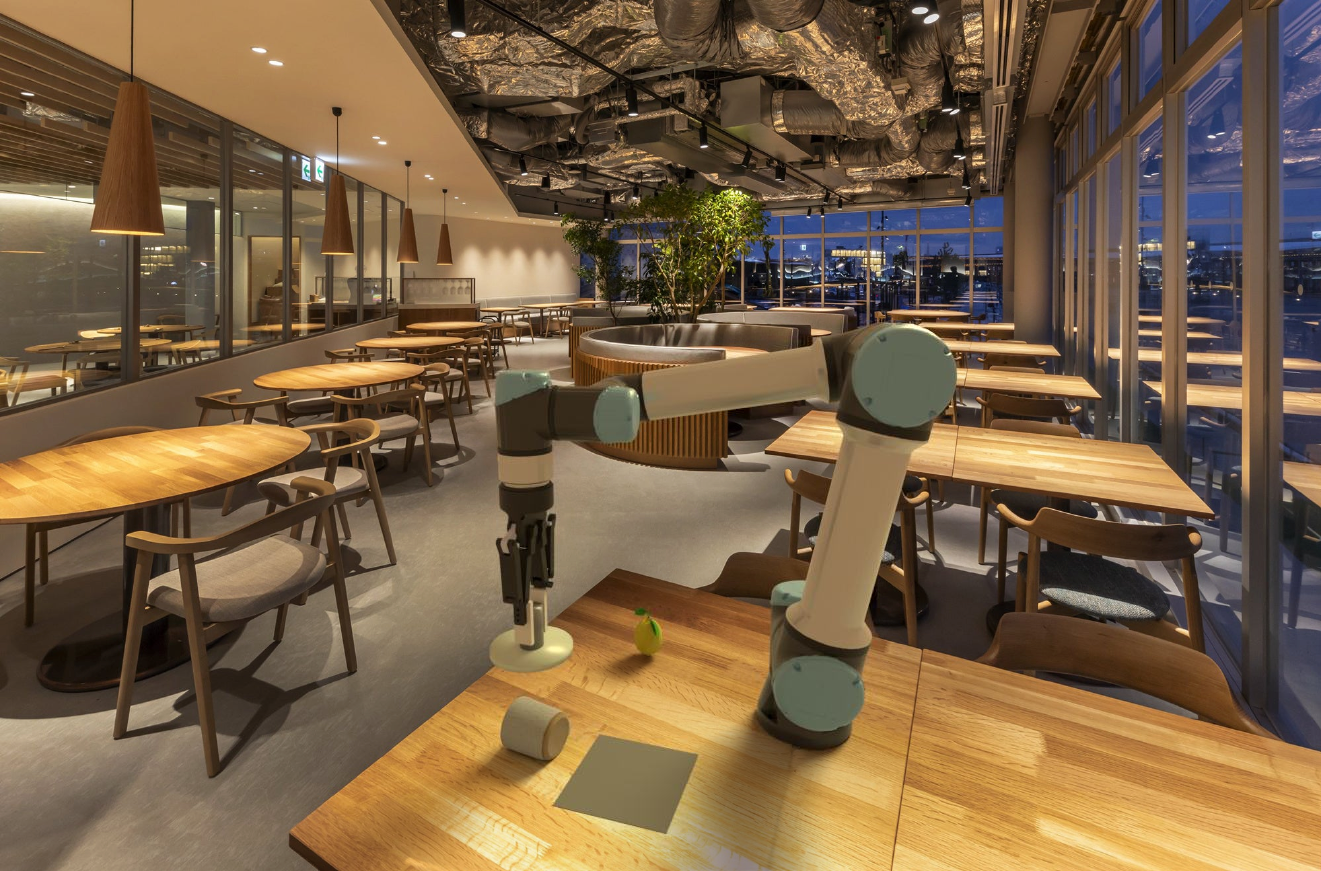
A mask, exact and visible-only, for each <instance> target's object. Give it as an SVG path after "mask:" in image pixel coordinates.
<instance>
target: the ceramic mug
mask: <svg viewBox="0 0 1321 871" xmlns="http://www.w3.org/2000/svg"><path fill="white" fill-rule="evenodd" d="M571 728H572V723H571V722H570V721H569V717H568V716H567V714H566V713H565V712H564V711H561V710H560V709H558V708H557V707H554V706H551V705H548V704H545V703H543V702H541V701H539V700H536V699H533V698H531V697H529V696H525V695H523V696H522V695H521V696H519V697H517V698H515V700H513V702H512V703H511V704H510V705H509V707H508V708H507V710H506V712H505V714H504V716H503V718H502V722H501V726H500V734H499V735H500V737H499V738H500V742H501V744H502V746H503V747H504V748H505V749H508V750H511V751H514V752H517V753H520V754H522V755H525V756H528V757H531V758H535V759H537V760H540V761H551V760H554V759H555V758H557V757H558V756H559V755H560V753H561V752H562V750H563V749H564V747H565V745H566V742H567V739H568V737H569V735H570V731H571Z"/></svg>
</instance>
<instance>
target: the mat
mask: <svg viewBox="0 0 1321 871" xmlns="http://www.w3.org/2000/svg"><path fill="white" fill-rule="evenodd" d="M699 755H700V754H699V753H693V752H689V751H684V750H678V749H674V748H668V747H666V746H665V747H663V746H659V745H656V744H655V745H653V744H649V743H645V742H640V741H635V740H629V739H626V738H620V737H617V736H616V737H615V736H611V735H606V734H602V733H601V734H598V736H597V737H596V738H595V740H594V741H593V743H592V744H591V746H590V748H589V749H588V751H587V752H586V754H585V756H584V757H583V759H582V760H581V762H580V763H579V765H578V766H577V768H576V769H575V770H574V772H573V773H572V775H571V777H570V778H569V779H568V780H567V782H566V784H565V786H564V787H563V789H562V790H561V792H560V793H559V794H558V796H557V798H556V799H555V801H554V802H553V804H552V807H557V808H561V809H563V810H569V811H572V812H577V813H581V814H584V815H589V816H593V817H597V818H601V819H604V820H605V819H606V820H609V821H613V822H617V823H620V824H621V823H622V824H626V825H630V826H633V827H637V828H642V829H645V830H650V831H653V832H658V833H662V834H667V833H668V830H670V826H671V823H672V821H673V819H674V816H675V813H676V811H677V808H678V806H679V803H680V801H681V799H682V797H683V794H684V791H685V789H686V787H687V784H688V782H689V780H690V777H691V774H692V772H693V769H694V767H695V764H696V762H697V759H698V757H699Z"/></svg>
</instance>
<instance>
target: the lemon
mask: <svg viewBox="0 0 1321 871" xmlns="http://www.w3.org/2000/svg"><path fill="white" fill-rule="evenodd" d="M649 613H650V607H649V606H648V607H647V610H646V609H645V608H644V607H642V606H639V607H637V608H636V609H635V612H634V615H635V616H640V617H641V616H642V617H643V616H644V617H645V616H647V617H646V618H644V619H642V620H640V621H639V622H638V624H637V625H636V627H635V629H634V637H633V639H634V645H635V648H636V649H637V650H638V651H639V652H640V653H641V654H644V655H646V657H650V656H651V655H653V654H656V653H657V652H659V650H661V647H662V645H663V643H664V642H663V641H664V640H663V631H662V627H661V626H660V625H659V624H660V623H658V622H657V620H654V619H652V618H651V617H650V614H649Z"/></svg>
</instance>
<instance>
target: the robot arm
mask: <svg viewBox="0 0 1321 871" xmlns="http://www.w3.org/2000/svg"><path fill="white" fill-rule="evenodd" d="M551 378H552V377H551V374H550V372H549V371H547V370H544V369H533V368H532V369H531V368H530V369H529V368H528V369H527V368H525V369H524V368H522V369H508V370H503V371H501V372H498V374H497V375H496V377H495V382H494V384H495V385H494V388H495V389H494V404H493V407H494V409H495V410H494V412H495V414H494V415H495V429H496V442H497V443H496V444H497V447H496V449H497V450H496V452H497V458H496V460H497V463H498V466H497V469H498V479H499V481H500V482H501V483H500V484H499V485H498V498H499V499H498V501H499V508H500V510H501V511H502V512H504V513H505V514H507V523H506V531H507V533H506V534H505V536H504V537H497V538H496V539H495V546H496V549H497V552H498V557H499V558H498V560H499V569H500V579H501V580H500V581H501V592H502V602H503V603H504V604H510V605H512V606H513V607H512V608H513V609H512V610H513V629H514V634H515V643H519V644H524V645H530V646H532V645H533V644H534V621H533V601H536V602H540V603H542V604H543V628H544V632H546V631H547V630H548V626H549V625H548V603H547V597H548V596H547V595H548V594H547V589H552V588H553V587H554V581H550V579H551V580H552V579H554V577H555V527H556V521H557V514H556V513H553V512H551V513H550V512H547V511H549V510H551V509H552V508H553V507H554V505H555V490H554V489H555V488H554V482H553V481H552V479H553V478H554V459H553V458H554V457H553V456H554V455H553V441H556V442H557V441H558V442H559V441H560V442H580V443H581V442H582V443H583V442H584V443H604V444H607V445H611V444H612V445H613V444H614V443H630V442H633V441H634V440H635V439H636V438H637V436H638V431H639V428H640V427H639V426H640V423H646V422H650V421H657V420H663V419H671V418H678V417H686V416H694V415H701V414H707V413H714V412H715V413H716V412H723V411H731V410H736V409H742V408H743V409H744V408H745V409H746V408H752V407H758V406H767V405H774V404H781V403H788V402H795V401H802V400H803V401H805V400H809V399H816V398H817V399H820V400H821V401H822V402H824V403H825V404H831V403H832V404H833V403H837V402H838V406H837V410H836V415H835V417H834V418H835V419H834V421H835V422H836V424H837V426H838V427H839V429H840V431H841V432H842V435H843V436H842V440H841V444H840V447H839V451H838V455H837V459H836V462H835V467H834V470H833V474H832V478H831V482H830V487H829V489H828V494H827V498H826V501H825V506H824V509H823V512H822V517H821V521H820V524H819V528H818V533H817V537H816V541H815V543H814V549H813V552H812V556H811V559H810V563H809V568H808V571H807V574H806V578H805V580H803V579H802V580H789V581H784V582H780V583H778V584H777V585H775V586H774V587H773V589H772V591H771V599H770V601H769V604H770V626H769V627H770V629H769V630H770V631H769V660H768V661H769V663H768V664H769V668H768V674H767V676H766V679H765V681H764V683H763V686H762V689H761V692H760V694H759V696H758V699H757V704H756V705H757V707H756V709H757V710H756V717H757V720H758V723H759V725H760V726H761V728H762V729H763V730H764V731H765V732H766V733H767V734H768V735H770V736H771V737H773V738H774V739H776V740H777V741H780V742H783V743H785V744H787V745H790V746H791V747H792V748H797V749H803V750H826V749H830V748H833V747H837V746H839V745H841V744H843V743H845V741H847V739H849V737H850V736H851V734H852V731H853V722H854V721H855V719H856V718H857V717H858V716H859V715H860V713H861V711H863V710H862V709H863V707H864V705H865V696H866V693H865V691H866V687H865V682H864V680H863V677H862V676H863V673H864V672H863V671H864V668H865V664H866V661H867V656H868V653H869V650H870V646H871V642H872V640H873V635H872V631H871V630H870V628H869V626H868V625H867V623H866V622H865V619H866V616H867V612H868V608H869V604H870V602H871V598H872V594H873V592H874V587H875V585H876V580H877V577H878V573H879V570H880V566H881V563H882V559H883V555H884V552H885V548H886V545H887V542H888V538H889V534H890V532H891V527H892V523H893V521H894V516H895V513H896V509H897V506H898V503H899V498H900V495H901V492H902V490H903V489H902V488H903V486H904V482H905V481H904V480H905V477H906V474H907V471H908V467H909V464H910V461H911V456H912V453H913V452H914V451H915V450H918V449H919V448H922V447H923V446H924V445H927V444H928V443H929V440H930V437H931V433H932V429H933V427H934V423H935V420H936V417H938V416H939V415H940V414H941V413H943V411H944V410H945V409H946V407H948V405H950V402H951V401H952V399H953V397H954V394H955V391H956V388H957V381H958V369H957V364H956V360H955V358H954V355H953V353H952V351H951V349H950V348H949V346H948V345H947V344H946V342H945V341H944V340H943V339H941V338H940V337H939V336H938V335H936V334H935V333H934V332H932V331H930V330H929V329H927V328H925V327H924V326H920V325H916V324H914V323H903V322H887V321H884V322H876V323H871V324H870V325H865V326H863V327H860V328H857V329H853V330H850V331H846V332H842V333H838V334H834V335H833V334H832V335H829V336H824V337H817V338H816V340H815V341H814V342H813V344H812V345H810V346H809V345H808V346H804V347H803V346H802V347H797V348H791V349H790V348H789V349H784V350H778V351H772V352H764V353H758V354H752V355H746V356H739V357H733V358H725V359H719V360H714V361H706V362H700V363H693V364H687V365H682V366H681V365H680V366H674V367H668V368H661V369H655V370H648V371H644V372H636V373H629V374H621V373H618V374H617V373H616V374H611V375H607V376H605V377H604V378H602V379H601V380H600V381H597V382H595V383H593V384H592V385H587V386H586V385H581V386H580V385H579V386H578V385H577V386H575V385H571V386H570V385H568V386H567V385H565V386H564V385H557V384H553V381H552V380H551ZM532 586H533V587H532Z"/></svg>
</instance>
